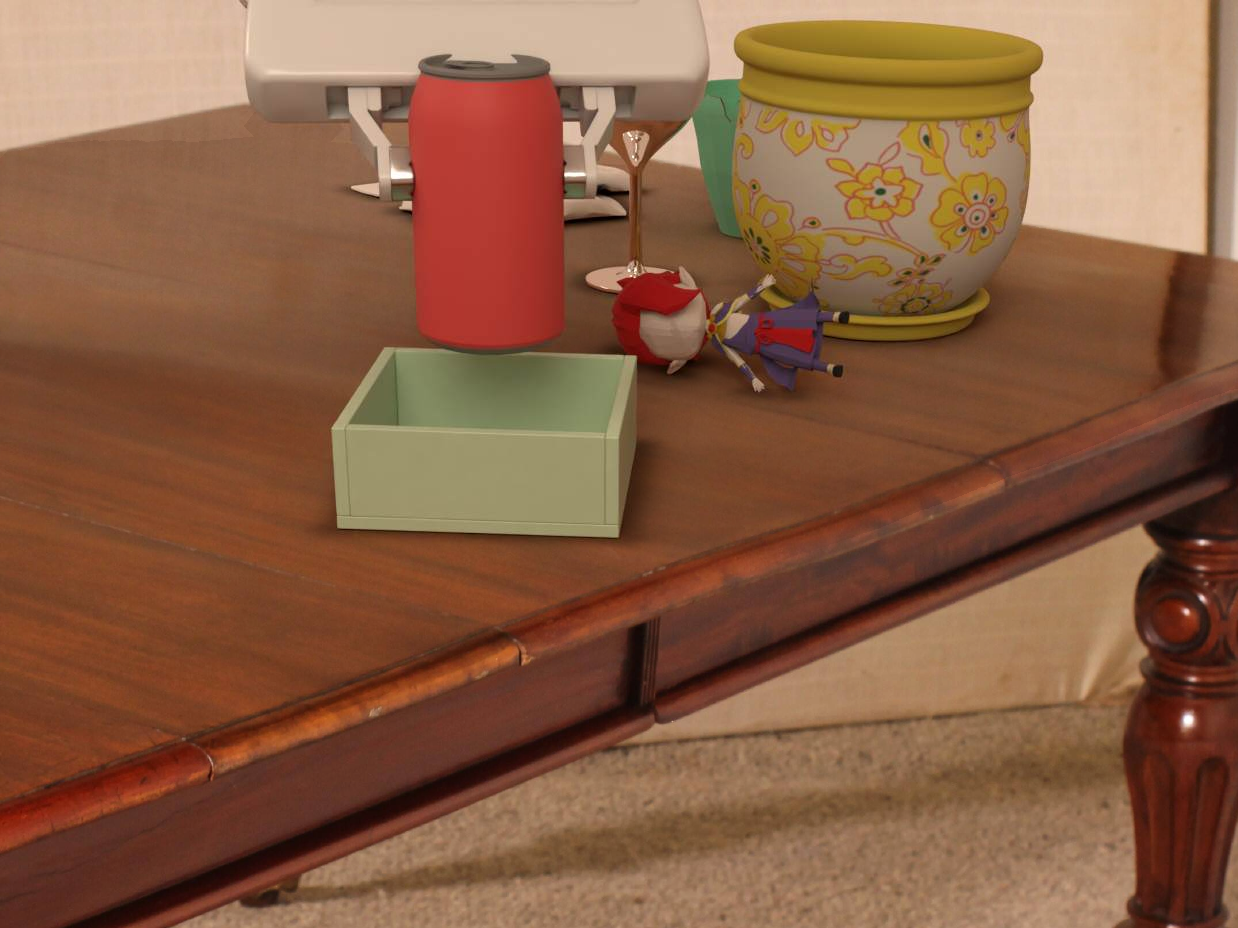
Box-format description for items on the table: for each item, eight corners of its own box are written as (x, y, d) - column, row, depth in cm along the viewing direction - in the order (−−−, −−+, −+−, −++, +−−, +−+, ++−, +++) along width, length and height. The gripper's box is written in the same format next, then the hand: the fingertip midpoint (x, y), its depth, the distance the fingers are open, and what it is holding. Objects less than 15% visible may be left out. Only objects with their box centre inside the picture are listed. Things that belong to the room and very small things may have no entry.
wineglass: (545, 279, 122) (542, -13, 114) (639, 260, 127) (641, -20, 120) (630, 305, 117) (632, 1, 109) (724, 284, 122) (732, -7, 115)
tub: (337, 528, 82) (331, 427, 80) (388, 437, 93) (384, 346, 91) (618, 538, 82) (619, 437, 80) (636, 445, 93) (637, 355, 91)
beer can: (463, 311, 88) (454, 46, 83) (590, 329, 86) (589, 58, 81) (389, 347, 83) (375, 65, 78) (523, 367, 80) (517, 78, 75)
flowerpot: (894, 375, 105) (914, 71, 98) (665, 309, 116) (669, 32, 109) (1075, 318, 117) (1104, 45, 110) (852, 264, 128) (867, 12, 121)
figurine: (815, 408, 97) (558, 369, 102) (869, 399, 104) (627, 363, 110) (830, 282, 95) (568, 249, 101) (883, 282, 103) (637, 251, 108)
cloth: (638, 178, 152) (639, 100, 150) (648, 230, 135) (648, 143, 133) (358, 173, 150) (354, 94, 148) (332, 226, 133) (327, 137, 131)
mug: (694, 247, 131) (698, 100, 127) (678, 216, 140) (681, 77, 136) (900, 247, 133) (910, 102, 129) (872, 216, 142) (880, 80, 138)
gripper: (226, -122, 81) (234, 152, 76) (695, -113, 85) (731, 148, 80) (239, -24, 87) (247, 236, 82) (678, -20, 91) (710, 229, 86)
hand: (490, 193), depth 81 cm, fingers closed on beer can, 6 cm apart
